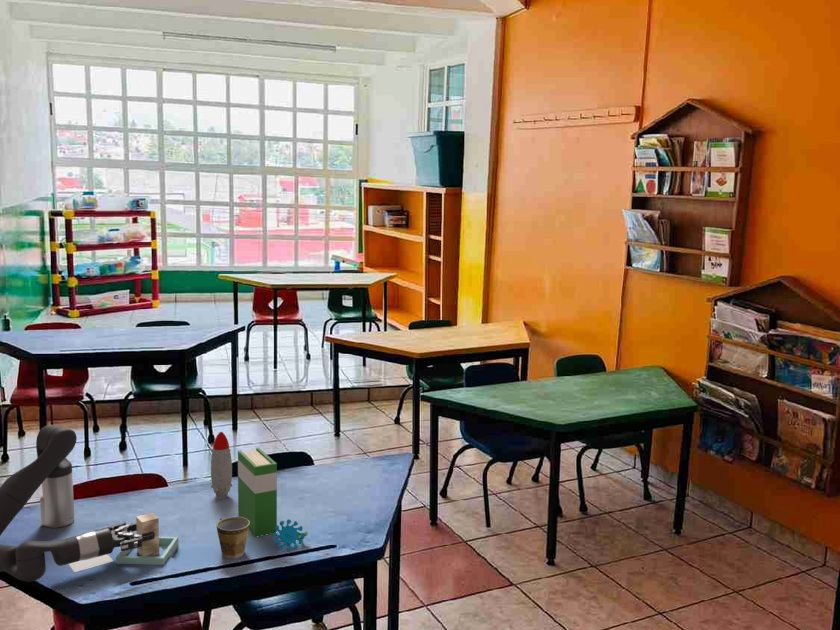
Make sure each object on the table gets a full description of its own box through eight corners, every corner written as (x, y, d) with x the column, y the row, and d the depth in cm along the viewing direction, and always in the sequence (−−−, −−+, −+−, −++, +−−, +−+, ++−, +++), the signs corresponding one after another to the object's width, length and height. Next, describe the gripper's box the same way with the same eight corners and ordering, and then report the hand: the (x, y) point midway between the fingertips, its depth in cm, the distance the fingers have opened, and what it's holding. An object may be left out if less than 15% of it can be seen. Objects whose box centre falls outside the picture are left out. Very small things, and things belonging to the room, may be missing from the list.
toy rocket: (224, 490, 279) (224, 426, 275) (236, 497, 274) (235, 432, 270) (206, 495, 274) (205, 430, 270) (218, 502, 268) (217, 436, 264)
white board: (74, 577, 213) (74, 572, 213) (63, 562, 221) (63, 557, 221) (113, 565, 220) (113, 561, 220) (101, 552, 229) (101, 547, 228)
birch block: (142, 559, 222) (141, 522, 221) (137, 553, 226) (136, 516, 224) (159, 555, 226) (158, 518, 224) (153, 549, 229) (152, 512, 228)
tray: (116, 568, 219) (115, 557, 219) (134, 546, 233) (133, 535, 232) (163, 569, 219) (163, 558, 219) (178, 547, 233) (178, 537, 233)
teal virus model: (273, 548, 231) (274, 518, 237) (269, 555, 235) (270, 524, 241) (308, 549, 234) (308, 519, 240) (304, 556, 238) (304, 526, 244)
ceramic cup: (256, 554, 230) (255, 524, 229) (227, 564, 223) (227, 533, 222) (234, 540, 239) (234, 510, 238) (206, 549, 232) (205, 519, 231)
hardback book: (238, 517, 257) (237, 450, 253) (258, 512, 260) (258, 447, 257) (255, 537, 242) (254, 467, 238) (276, 532, 246) (276, 463, 242)
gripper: (85, 547, 220) (140, 533, 231) (101, 566, 209) (158, 550, 220) (85, 523, 219) (140, 510, 229) (100, 541, 208) (157, 526, 219)
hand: (148, 529), depth 225 cm, fingers open, 8 cm apart
